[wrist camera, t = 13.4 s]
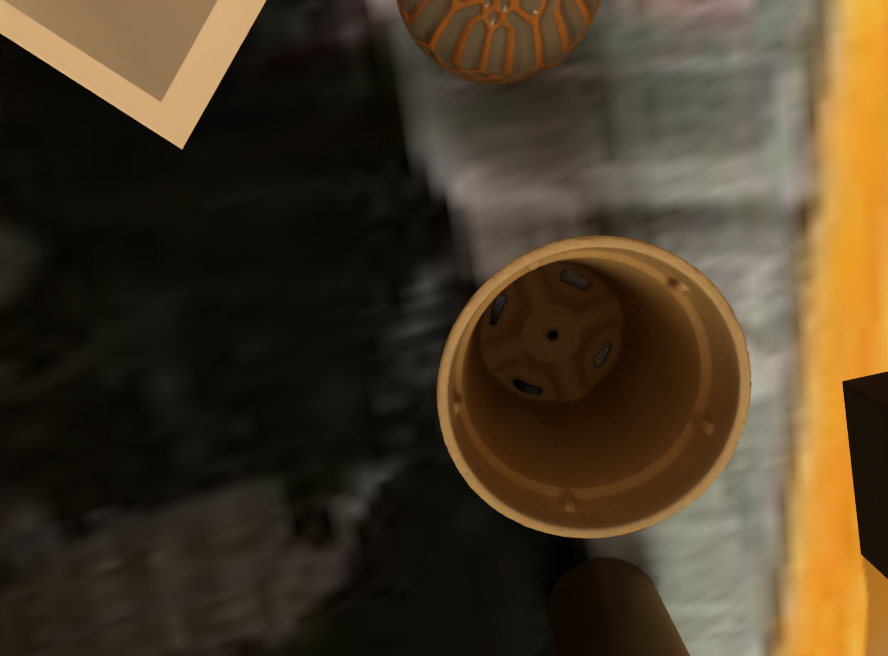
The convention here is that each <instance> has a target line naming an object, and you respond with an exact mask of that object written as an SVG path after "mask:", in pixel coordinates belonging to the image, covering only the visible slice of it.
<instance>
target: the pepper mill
mask: <svg viewBox="0 0 888 656" xmlns="http://www.w3.org/2000/svg"><path fill="white" fill-rule="evenodd" d="M547 617H548V623H549V627H550V631H551V635H552V640H553V644H554V648H555V652H556V656H690V655H689V653H688V651H687V649H686V647H685V645H684V643H683V641H682V639H681V637H680V635H679V633H678V631H677V629H676V627H675V625H674V623H673V621H672V619H671V617H670V615H669V613H668V611H667V609H666V608H665V606H664V604H663V602H662V600H661V598H660V596H659V594H658V592H657V590H656V588H655V586H654V584H653V583H652V581H651V580H650V578H649V577H648V576H647V575H646V574H645V573H644V572H643V571H642V570H640V569H639V568H638V567H636V566H634V565H632V564H630V563H628V562H625V561H622V560H618V559H611V558H600V559H593V560H589V561H586V562H583V563H580V564H578V565H576V566H575V567H573V568H571V569H570V570H569V571H567V572H566V573H565V574H564V575H563V576H562V577H561V578H560V579H559V580H558V581H557V583H556V584H555V586H554V587H553V589H552V592H551V594H550V597H549V600H548V605H547Z"/></svg>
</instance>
